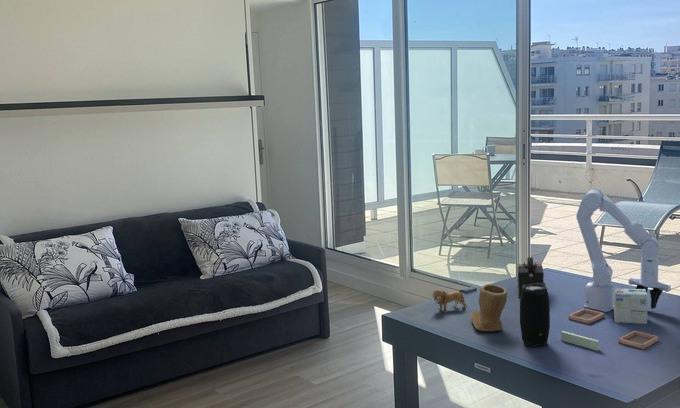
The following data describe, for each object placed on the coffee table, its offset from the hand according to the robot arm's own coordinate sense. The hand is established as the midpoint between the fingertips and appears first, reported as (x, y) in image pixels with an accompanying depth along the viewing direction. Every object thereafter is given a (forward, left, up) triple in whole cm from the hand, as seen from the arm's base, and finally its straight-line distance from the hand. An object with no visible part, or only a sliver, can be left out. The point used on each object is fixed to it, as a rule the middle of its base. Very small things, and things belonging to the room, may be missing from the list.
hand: (648, 306), depth 247 cm
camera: (-43, -10, -2) cm, 44 cm away
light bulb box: (0, -13, -2) cm, 13 cm away
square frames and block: (0, -31, -2) cm, 31 cm away
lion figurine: (-54, -46, -2) cm, 71 cm away
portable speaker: (-11, -53, -2) cm, 54 cm away
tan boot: (-32, -50, -2) cm, 59 cm away
